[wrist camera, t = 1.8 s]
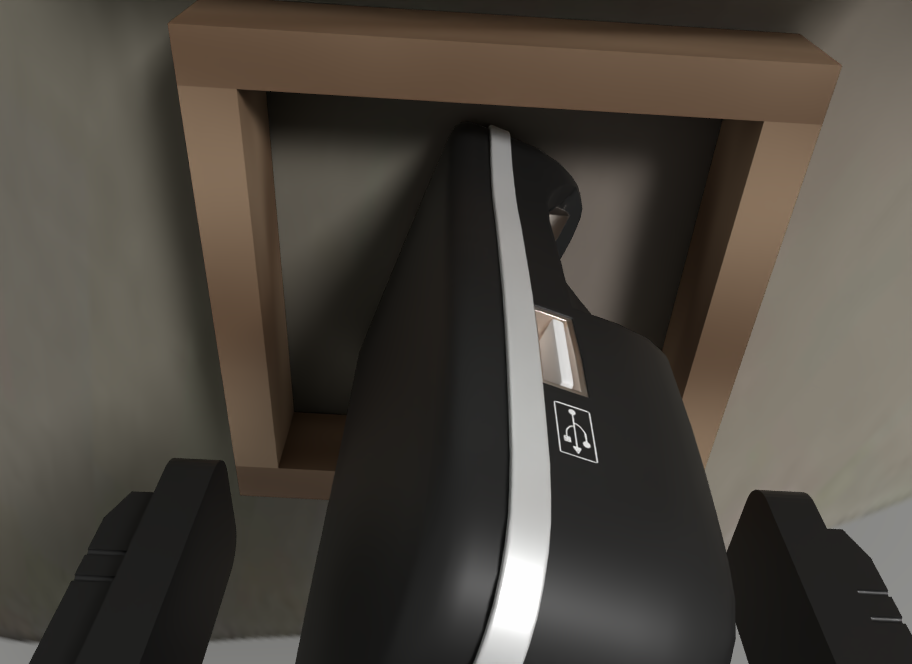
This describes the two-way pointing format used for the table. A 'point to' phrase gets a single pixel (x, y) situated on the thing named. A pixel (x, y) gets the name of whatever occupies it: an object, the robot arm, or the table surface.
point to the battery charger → (512, 454)
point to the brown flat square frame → (495, 83)
